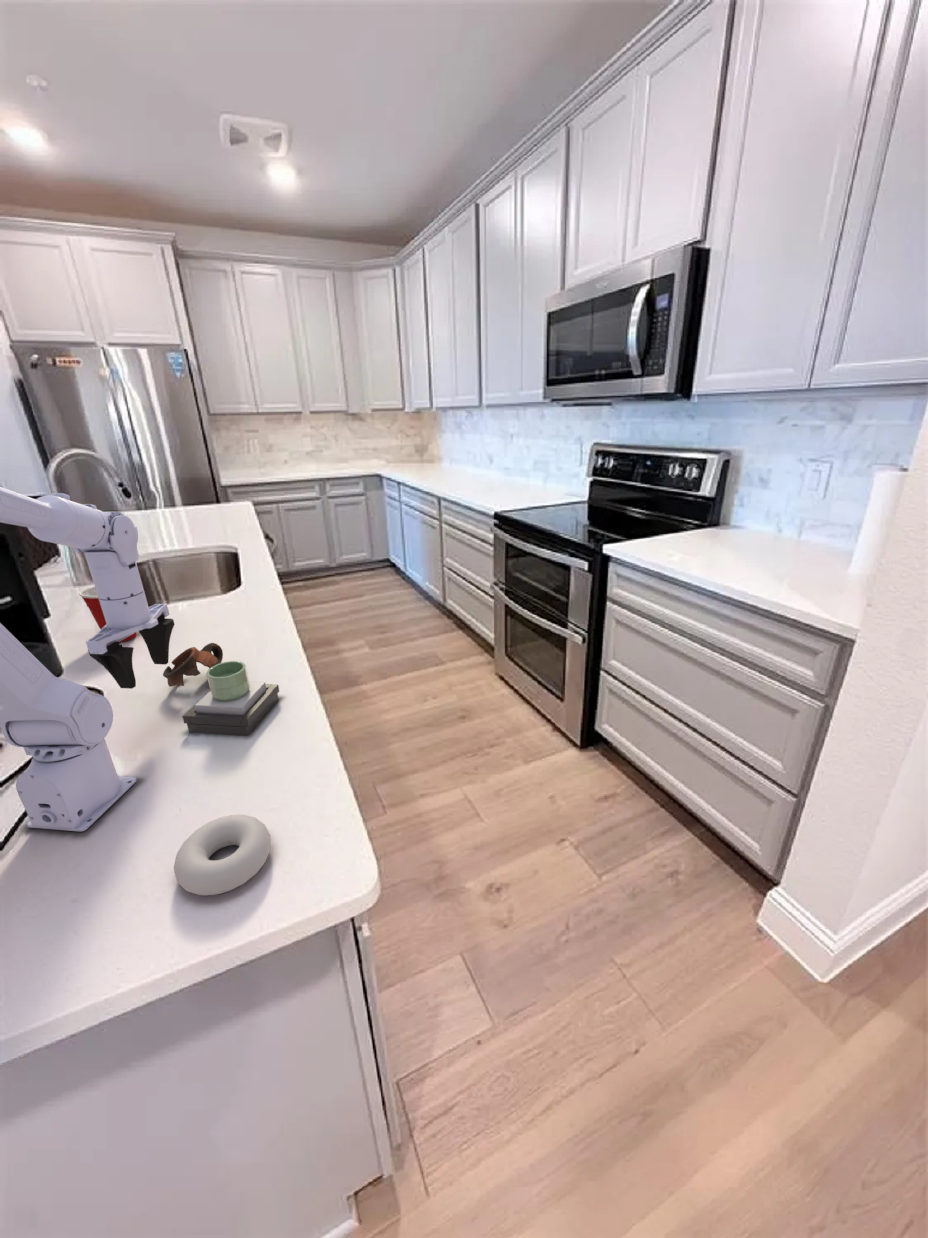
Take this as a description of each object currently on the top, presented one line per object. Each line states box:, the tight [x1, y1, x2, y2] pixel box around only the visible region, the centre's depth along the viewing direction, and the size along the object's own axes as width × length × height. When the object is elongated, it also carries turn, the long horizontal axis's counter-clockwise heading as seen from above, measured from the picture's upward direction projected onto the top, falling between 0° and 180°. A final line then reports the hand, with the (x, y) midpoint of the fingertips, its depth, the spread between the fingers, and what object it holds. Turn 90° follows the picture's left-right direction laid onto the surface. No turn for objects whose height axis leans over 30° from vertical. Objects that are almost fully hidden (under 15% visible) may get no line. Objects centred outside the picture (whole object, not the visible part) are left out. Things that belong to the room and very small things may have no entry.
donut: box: [173, 814, 271, 896], centre depth 57 cm, size 10×4×10 cm
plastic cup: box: [78, 585, 137, 643], centre depth 114 cm, size 11×11×12 cm
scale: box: [181, 683, 280, 736], centre depth 85 cm, size 11×11×3 cm
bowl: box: [205, 660, 250, 701], centre depth 83 cm, size 6×6×4 cm
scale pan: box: [194, 681, 267, 715], centre depth 85 cm, size 8×8×2 cm
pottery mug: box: [162, 642, 224, 687], centre depth 96 cm, size 12×10×8 cm
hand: (145, 674), depth 80 cm, fingers open, 7 cm apart
